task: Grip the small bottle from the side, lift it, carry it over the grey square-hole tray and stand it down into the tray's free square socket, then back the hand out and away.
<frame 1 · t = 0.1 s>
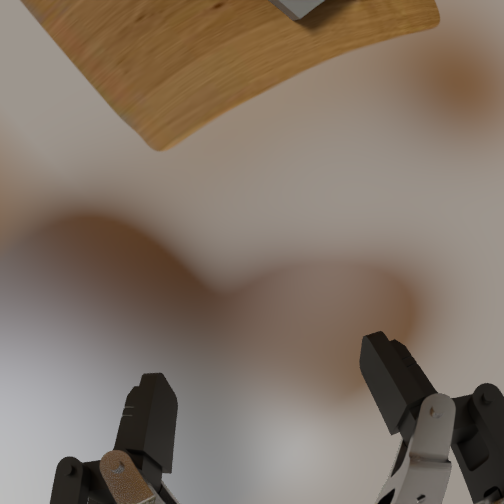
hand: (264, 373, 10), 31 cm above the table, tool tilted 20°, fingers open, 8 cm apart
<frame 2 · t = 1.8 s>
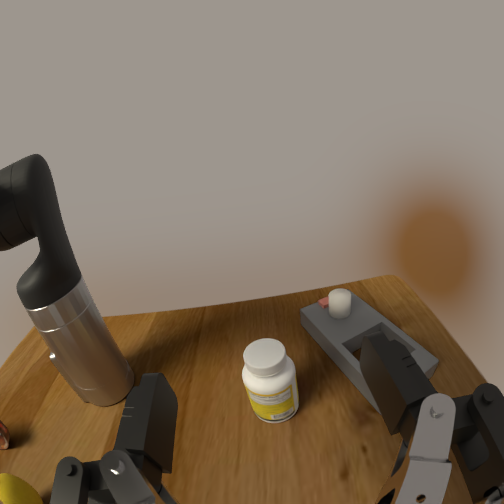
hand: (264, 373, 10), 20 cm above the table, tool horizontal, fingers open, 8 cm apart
grey square-hole tray: (362, 349, 33), on the table
supplement bottle: (276, 406, 28), on the table
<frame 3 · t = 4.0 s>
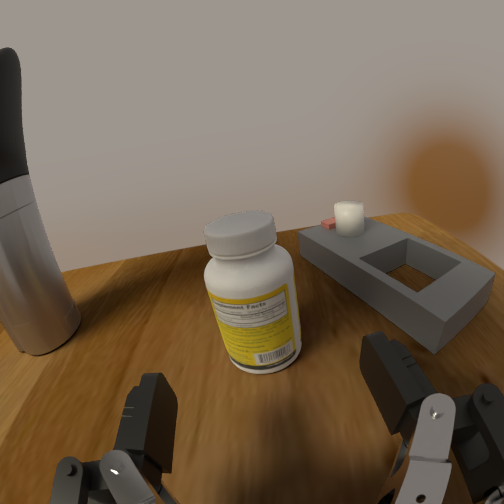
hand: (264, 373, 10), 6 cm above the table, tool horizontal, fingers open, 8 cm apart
grey square-hole tray: (387, 276, 24), on the table
supplement bottle: (265, 351, 19), on the table
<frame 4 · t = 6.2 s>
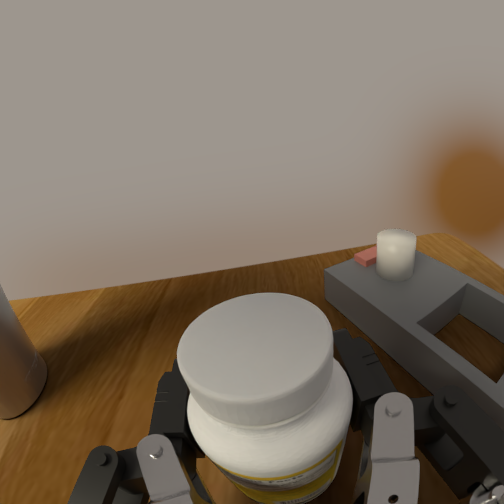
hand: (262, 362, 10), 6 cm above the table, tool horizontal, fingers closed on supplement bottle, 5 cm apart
grey square-hole tray: (441, 336, 16), on the table
supplement bottle: (285, 466, 11), on the table, touching gripper
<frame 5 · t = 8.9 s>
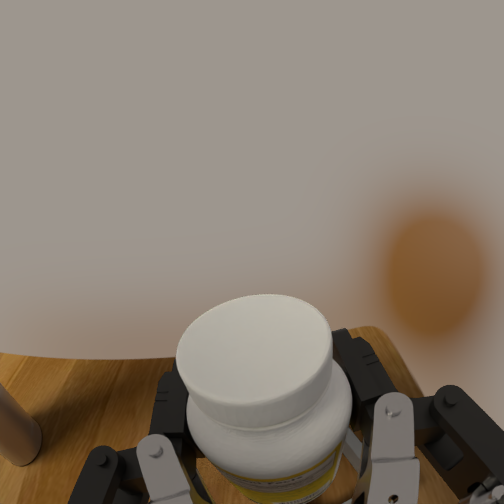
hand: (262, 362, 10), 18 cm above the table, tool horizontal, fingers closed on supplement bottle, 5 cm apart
grey square-hole tray: (303, 460, 19), on the table
supplement bottle: (284, 467, 11), point 12 cm above the table, touching gripper
when the fingers open (8 cm above the table, at t = 11.5 s): supplement bottle drops 2 cm, resting in grey square-hole tray.
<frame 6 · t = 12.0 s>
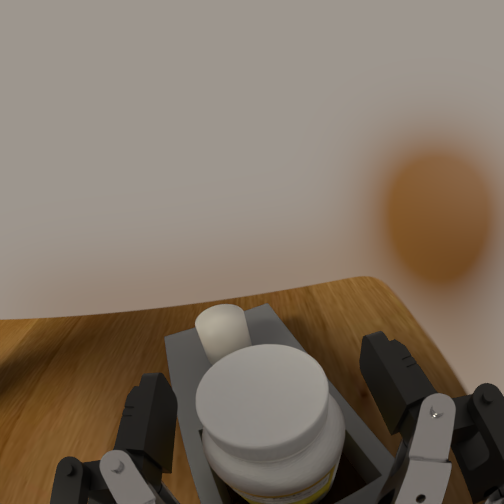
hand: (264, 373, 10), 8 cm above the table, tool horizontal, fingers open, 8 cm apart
grey square-hole tray: (267, 438, 14), on the table
supplement bottle: (286, 478, 11), resting in grey square-hole tray
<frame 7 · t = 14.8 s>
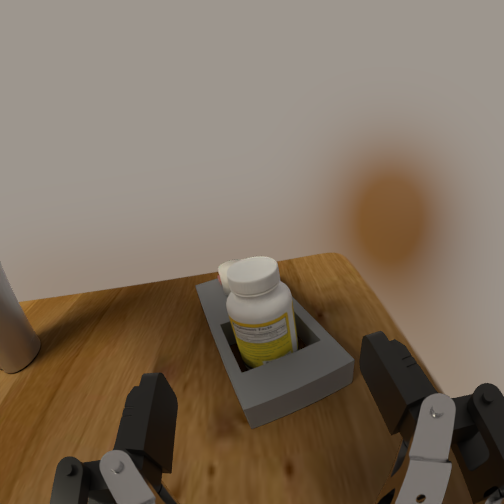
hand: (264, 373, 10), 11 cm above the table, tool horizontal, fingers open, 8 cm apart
grey square-hole tray: (260, 337, 27), on the table
supplement bottle: (270, 358, 25), resting in grey square-hole tray
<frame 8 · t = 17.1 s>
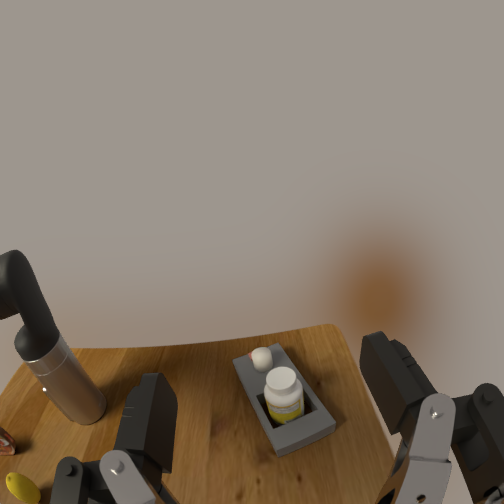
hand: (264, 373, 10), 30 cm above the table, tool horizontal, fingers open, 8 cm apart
lemon: (39, 498, 17), on the table
grey square-hole tray: (279, 399, 39), on the table
tin: (3, 450, 23), on the table
supplement bottle: (287, 413, 37), resting in grey square-hole tray
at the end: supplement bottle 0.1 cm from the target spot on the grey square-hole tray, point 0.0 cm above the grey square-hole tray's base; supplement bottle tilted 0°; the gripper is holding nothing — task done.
